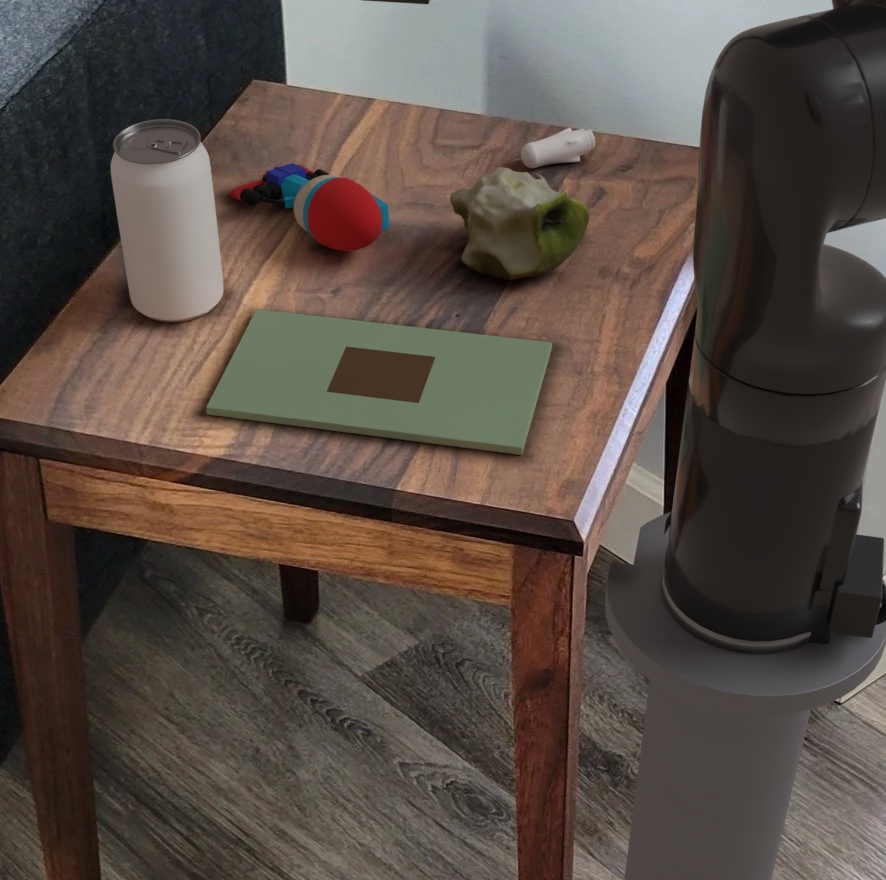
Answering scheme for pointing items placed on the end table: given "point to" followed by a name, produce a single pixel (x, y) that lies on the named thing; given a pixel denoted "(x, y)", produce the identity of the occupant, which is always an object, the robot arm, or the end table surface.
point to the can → (167, 220)
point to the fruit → (518, 224)
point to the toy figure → (321, 205)
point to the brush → (404, 1)
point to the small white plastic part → (558, 148)
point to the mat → (384, 380)
